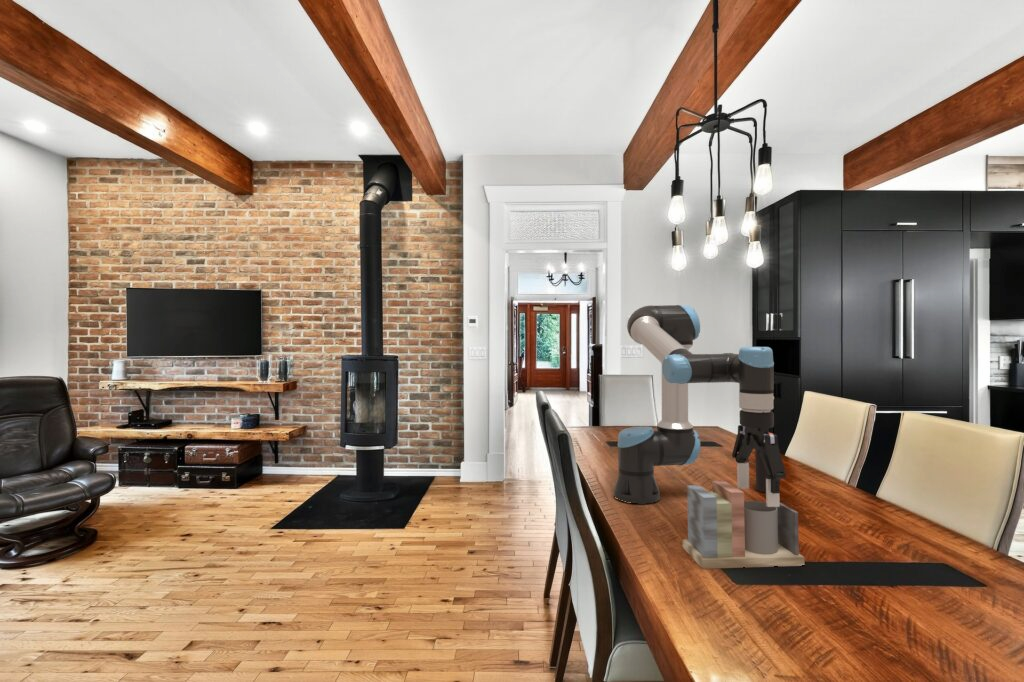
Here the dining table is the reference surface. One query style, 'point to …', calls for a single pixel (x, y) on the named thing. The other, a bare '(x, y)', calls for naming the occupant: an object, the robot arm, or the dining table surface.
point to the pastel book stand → (733, 531)
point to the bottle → (760, 472)
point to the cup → (760, 527)
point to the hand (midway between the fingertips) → (757, 496)
